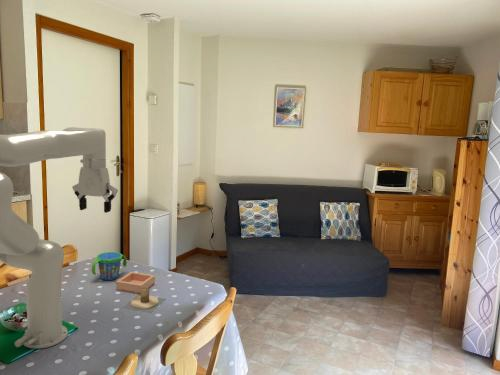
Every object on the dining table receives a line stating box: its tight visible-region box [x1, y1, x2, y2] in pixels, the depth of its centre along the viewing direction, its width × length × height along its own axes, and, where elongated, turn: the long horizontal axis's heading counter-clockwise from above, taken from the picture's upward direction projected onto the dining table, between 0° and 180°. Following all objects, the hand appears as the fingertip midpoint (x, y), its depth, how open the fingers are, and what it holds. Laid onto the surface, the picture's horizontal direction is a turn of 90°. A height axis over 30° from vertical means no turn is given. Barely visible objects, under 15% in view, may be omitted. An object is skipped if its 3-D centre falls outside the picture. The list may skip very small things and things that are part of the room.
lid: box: [130, 287, 158, 309], centre depth 144 cm, size 10×10×6 cm
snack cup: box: [91, 251, 128, 281], centre depth 167 cm, size 16×10×10 cm
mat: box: [122, 294, 167, 314], centre depth 145 cm, size 12×12×1 cm
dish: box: [115, 271, 156, 295], centre depth 158 cm, size 11×11×4 cm
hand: (95, 210), depth 137 cm, fingers open, 9 cm apart
